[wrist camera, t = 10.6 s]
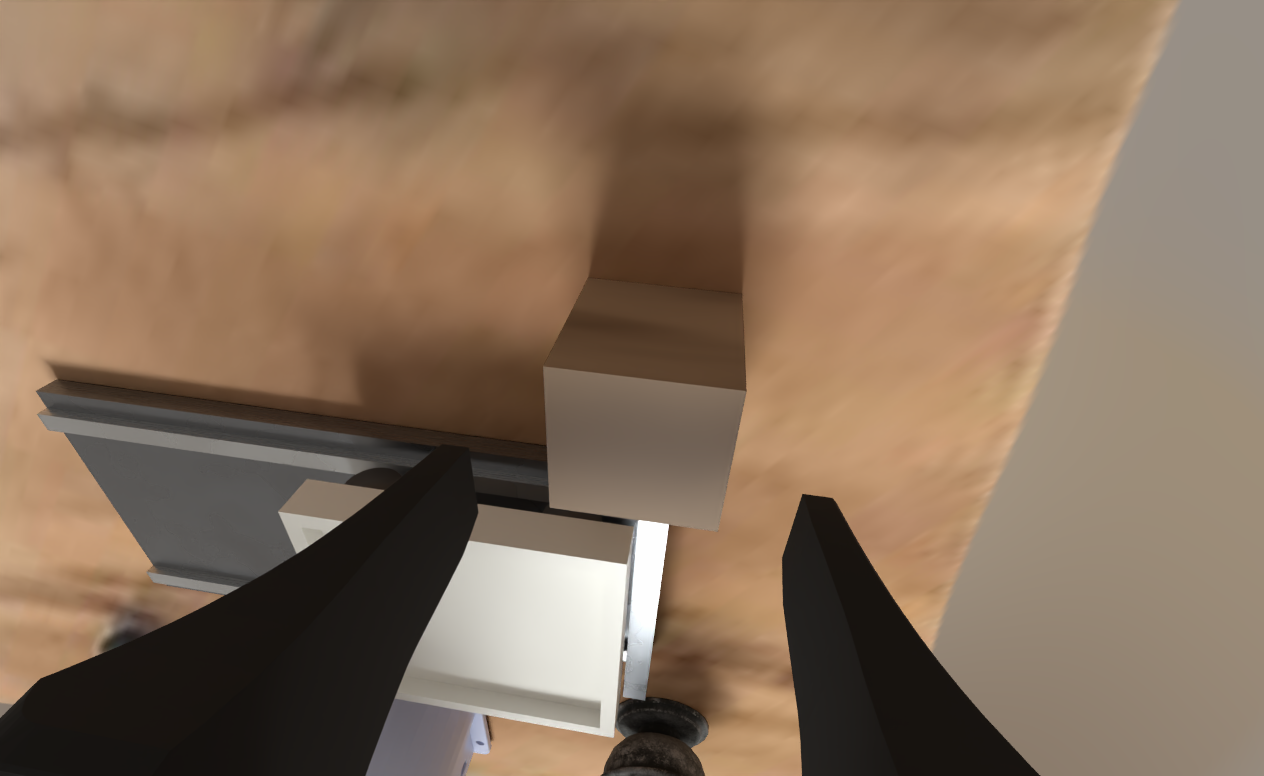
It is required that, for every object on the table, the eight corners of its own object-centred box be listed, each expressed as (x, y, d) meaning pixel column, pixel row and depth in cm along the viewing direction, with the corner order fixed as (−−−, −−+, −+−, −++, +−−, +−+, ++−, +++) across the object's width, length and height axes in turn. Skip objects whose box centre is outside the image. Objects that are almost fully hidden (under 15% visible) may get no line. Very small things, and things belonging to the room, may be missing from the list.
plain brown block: (720, 416, 19) (717, 531, 15) (587, 400, 19) (549, 507, 15) (742, 293, 16) (746, 391, 12) (588, 276, 17) (543, 365, 13)
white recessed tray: (623, 672, 26) (613, 737, 23) (389, 632, 27) (357, 691, 24) (639, 497, 19) (627, 564, 17) (329, 453, 20) (277, 511, 18)
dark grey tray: (651, 649, 27) (645, 700, 25) (179, 572, 29) (139, 613, 27) (675, 463, 20) (670, 513, 18) (56, 379, 22) (-9, 416, 20)
